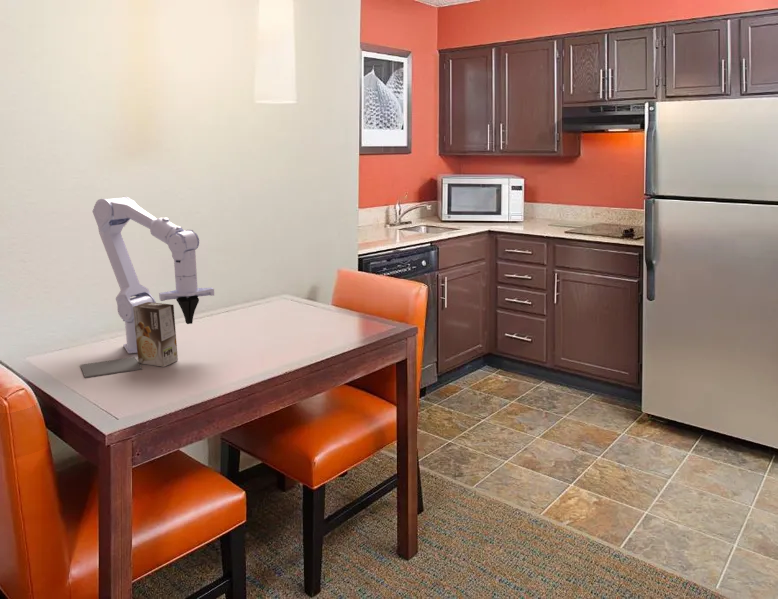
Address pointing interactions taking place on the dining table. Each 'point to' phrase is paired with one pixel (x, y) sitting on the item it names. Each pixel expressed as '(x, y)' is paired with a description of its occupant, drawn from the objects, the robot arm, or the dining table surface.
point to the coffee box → (155, 334)
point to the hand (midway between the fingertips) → (189, 323)
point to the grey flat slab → (110, 367)
